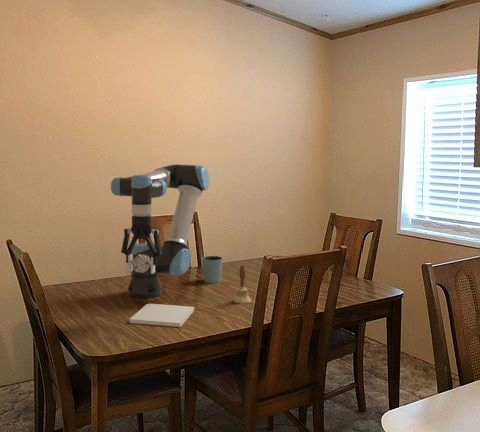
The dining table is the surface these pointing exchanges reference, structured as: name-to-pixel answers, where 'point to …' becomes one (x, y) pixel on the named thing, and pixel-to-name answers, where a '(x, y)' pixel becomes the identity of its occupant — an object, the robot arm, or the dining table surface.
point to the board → (162, 315)
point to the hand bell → (242, 289)
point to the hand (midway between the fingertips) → (141, 271)
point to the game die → (141, 263)
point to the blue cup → (212, 269)
